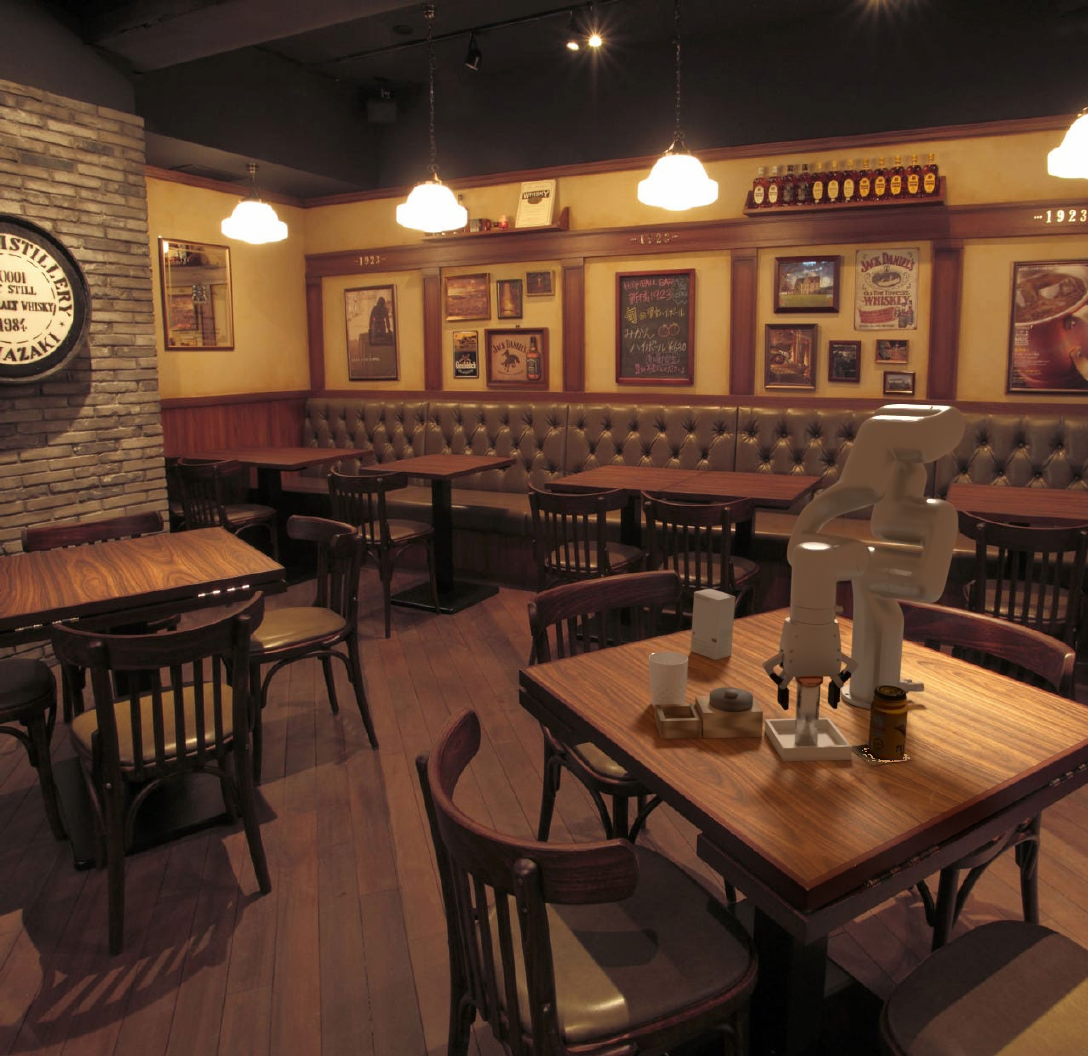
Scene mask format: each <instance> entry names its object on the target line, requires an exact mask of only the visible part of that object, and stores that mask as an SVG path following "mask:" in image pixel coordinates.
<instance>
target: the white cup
mask: <svg viewBox="0 0 1088 1056" xmlns="http://www.w3.org/2000/svg"><path fill="white" fill-rule="evenodd" d="M688 668H689V657H688V656H687V655H686V654H684V653H681V652H678V651H672V650H665V651H664V650H663V651H656V652H652V653H651V654H649V656H648V673H649V678H648V679H649V689H650V704H651V706H653V708H655V705H661V704H686V703H685V701H686V693H687V683H688Z"/></svg>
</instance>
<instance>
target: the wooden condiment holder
mask: <svg viewBox="0 0 1088 1056" xmlns="http://www.w3.org/2000/svg"><path fill="white" fill-rule="evenodd" d="M694 697H695V698H694V699H695V700H694V701H695V702H694V703H685V704H661V705H655V707H654V723H655V726H656V728H657V732H658V734H659V737H660V739H661V740H662V739H665V740H667V739H669V740H670V739H698V738H699V739H701V738H702V739H713V738H714V739H718V738H720V739H721V738H724V739H725V738H727V739H728V738H760V737H761V738H762V737H763V724H764V723H763V721H764V710H763V709H762V708H761V706H760V705H759V702H757V700H756V698H755V696H754V695H753V694H752V693H751V692H750V691H747V690H746V689H742V688H738V687H732V686H731V687H727V686H726V687H718V688H715V689H712V690H711V691H710V692H709V695H695V696H694Z"/></svg>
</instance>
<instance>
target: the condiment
mask: <svg viewBox="0 0 1088 1056" xmlns="http://www.w3.org/2000/svg"><path fill="white" fill-rule="evenodd" d="M906 696H907V694H906V692H905V691H904V690H903V689H901V688H899V687H896V686H889V685H882V686H878V687H876V688H875V690H874V697H873V699H874V700H873V701H872V703H871V710H870V709H869V710H870V711H869V713H870V715H869V731H868V743H864V744H859V745H851V746H852V752H854V753H855V754H856V755H857V754H859V755H858V756H859V757H860V758H861V759H862V760H864V761H865V762H866V763H868V764H869V765H871V766H876V765H880V766H881V765H885V764H886V765H887V764H892V763H891V762H887V763H885V762H882V761H881V762H878V761H877V760H878V759H880V760H890V761H892V760H893V761H894V760H905V758H904V759H903V757H905V756H904V754H907V752H905V751H906V740H907V736H906V735H907V728H908V727H907V723H908V722H907V721H908V712H909V711H908V710H909V707H908V706H907V703H906ZM864 748H869V749H867V750H864ZM862 750H863V751H862ZM865 751H867V752H865ZM863 754H866V755H867V757H866V756H865V755H863ZM868 754H871V755H872V756H873V758H875V759H872V758H871V756H870V755H868ZM908 755H909V756H907V757H910V759H908V758H907V760H912V761H915V760H916V758H914V757H913V756H911V755H910V754H908ZM876 759H877V760H876ZM868 760H869V761H868ZM872 760H876V761H872Z"/></svg>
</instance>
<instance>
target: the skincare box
mask: <svg viewBox="0 0 1088 1056" xmlns="http://www.w3.org/2000/svg"><path fill="white" fill-rule="evenodd" d="M735 607H736V596H734V595H731V594H728V593H725V592H723V591H719V590H717V589H713V588H705V589H702V590H696V591H694V592H693V607H692V621H691V623H692V625H691V637H690V638H691V639H690V652H692V653H695V654H697V655H700V656H703V657H707V658H709V659H712V660H714V661H717V660H720V659H723V658H728V657H731V656H732V650H733V635H734V634H733V633H734V621H735V620H734V619H735V618H734V617H735Z"/></svg>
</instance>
